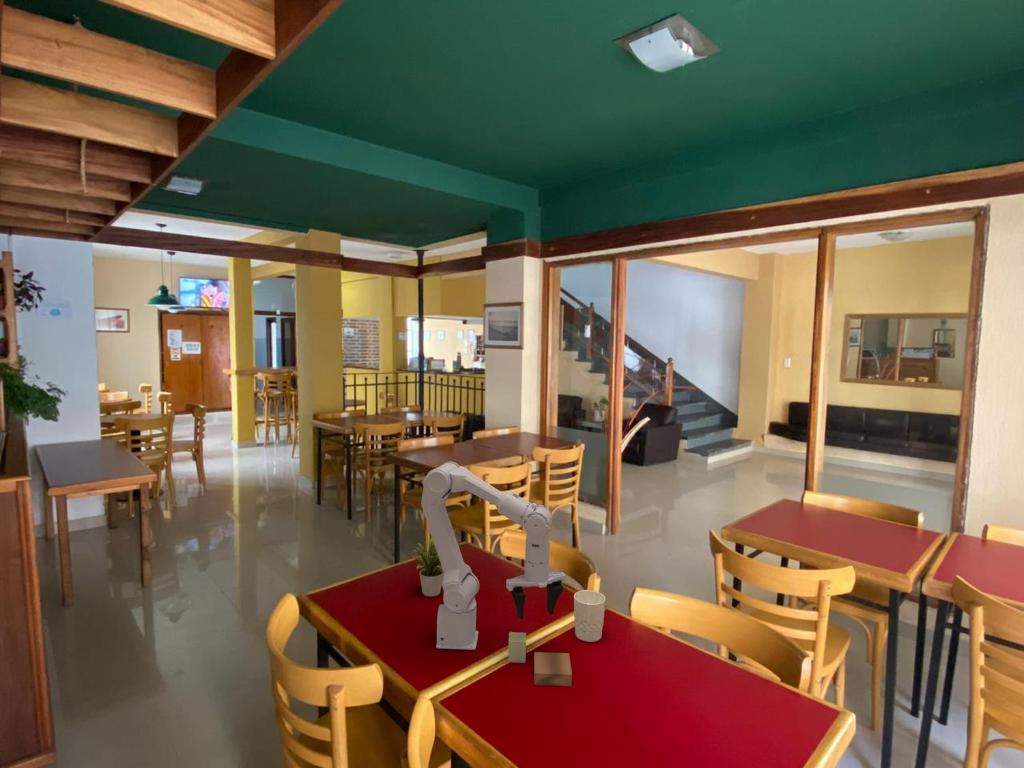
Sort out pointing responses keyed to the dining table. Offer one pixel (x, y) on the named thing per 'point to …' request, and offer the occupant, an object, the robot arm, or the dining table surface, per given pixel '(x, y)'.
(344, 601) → the dining table surface
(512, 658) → the green block
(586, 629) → the white cup
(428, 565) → the house plant
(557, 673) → the walnut base
